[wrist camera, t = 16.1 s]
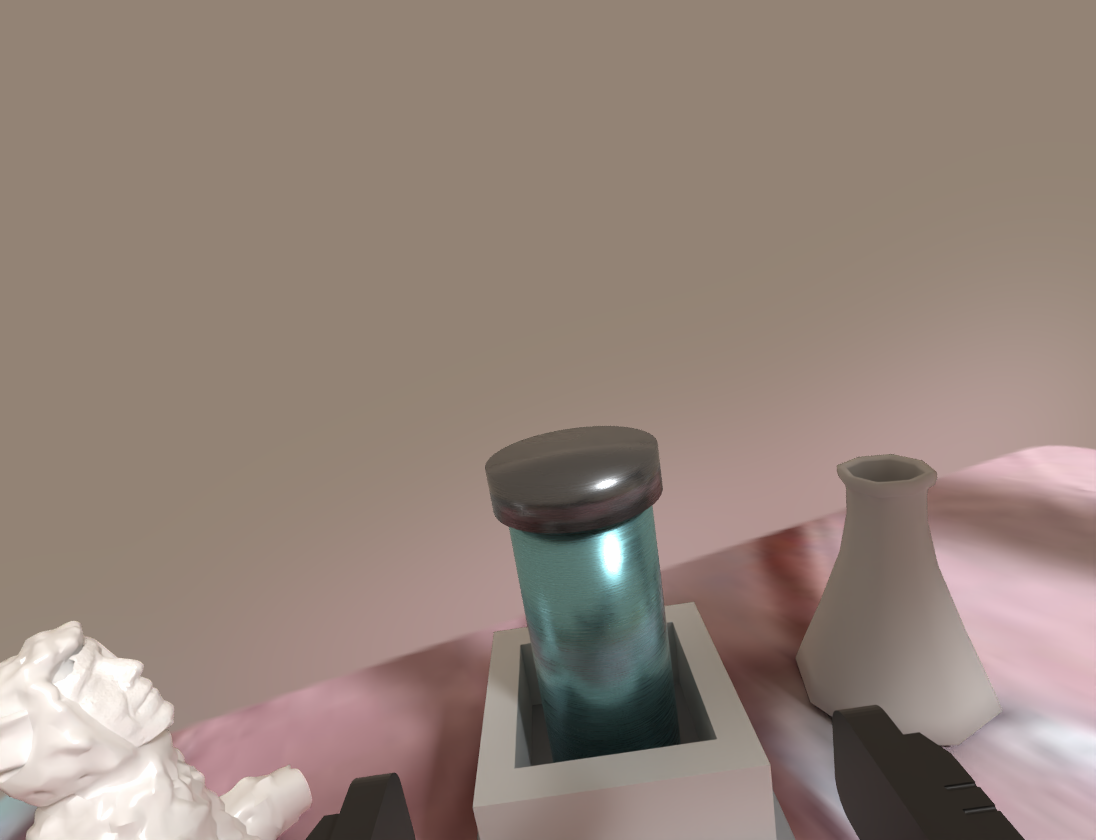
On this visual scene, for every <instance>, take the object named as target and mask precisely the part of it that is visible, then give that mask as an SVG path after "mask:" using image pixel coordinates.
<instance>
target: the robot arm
mask: <svg viewBox="0 0 1096 840" xmlns="http://www.w3.org/2000/svg"><path fill="white" fill-rule="evenodd" d="M832 725H833V745H834V764H835V780H836V786H837V790H838V794H839V797H840V801H841V803H842V806H843V809H844V811H845V813H846V816H847V818H848V820H849V821H850V823H851V825H852V827H853V829H854V830H855V832H856V834H857V836H858V837H859V839H860V840H1025V839H1024V838H1023V837H1022V836H1021V835H1020V834H1019V832H1018V831H1017V830H1016V829H1015V828H1014V827H1013V825H1012V824H1011V823H1010V822H1009V821H1008V820H1007V818H1006V817H1005V816H1004V815H1003V814H1002V813H1001V811H997V809H996V808H995V804H994V803H993V802H992V801H991V800H990V798H989V797H988V796H987V795H986V794H985V793H984V791H983V790H982V789H981V788H980V787H977V786H976V784H975V781H974V780H973V779H972V777H971V776H970V775H969V774H968V773H967V772H966V770H965V769H964V768H963V767H962V766H961V765H960V763H959V762H958V761H957V760H956V759H955V758H954V756H953V755H952V754H951V753H949V752H948V751H946V750H945V749H943V748H942V747H941V746H939V745H938V744H936V743H935V742H933V741H932V740H930V739H929V738H927V737H926V736H924V735H923V734H921V733H920V732H917V733H910V734H902V732H901V731H900V730H899V728H898V727H897V726H896V725H895V723H894V722H893V721H892V720H891V718H890V717H889V716H888V714H887V713H886V712H885V711H884V710H883V709H882V708H881V707H880V706H878V705H869V706H862V707H855V708H848V709H841V710H835V711H834V712H833V716H832ZM306 840H415V835H414V831H413V827H412V823H411V820H410V816H409V812H408V808H407V805H406V801H405V797H404V793H403V790H402V786H401V782H400V779H399V777H398V775H397V774H396V773H389V774H382V775H375V776H368V777H361V778H356V779H354V780H353V781H352V783H351V784H350V787H349V789H348V792H347V795H346V797H345V800H344V803H343V806H342V808H341V811H340V814H334V815H327V816H324V817H323V818H322V819H321V821H320V822H319V823H318V824H317V826H316V827H315V828H314V829H313V831H312V832H311V833H310V835H309V836H308V837H307V838H306Z"/></svg>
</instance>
